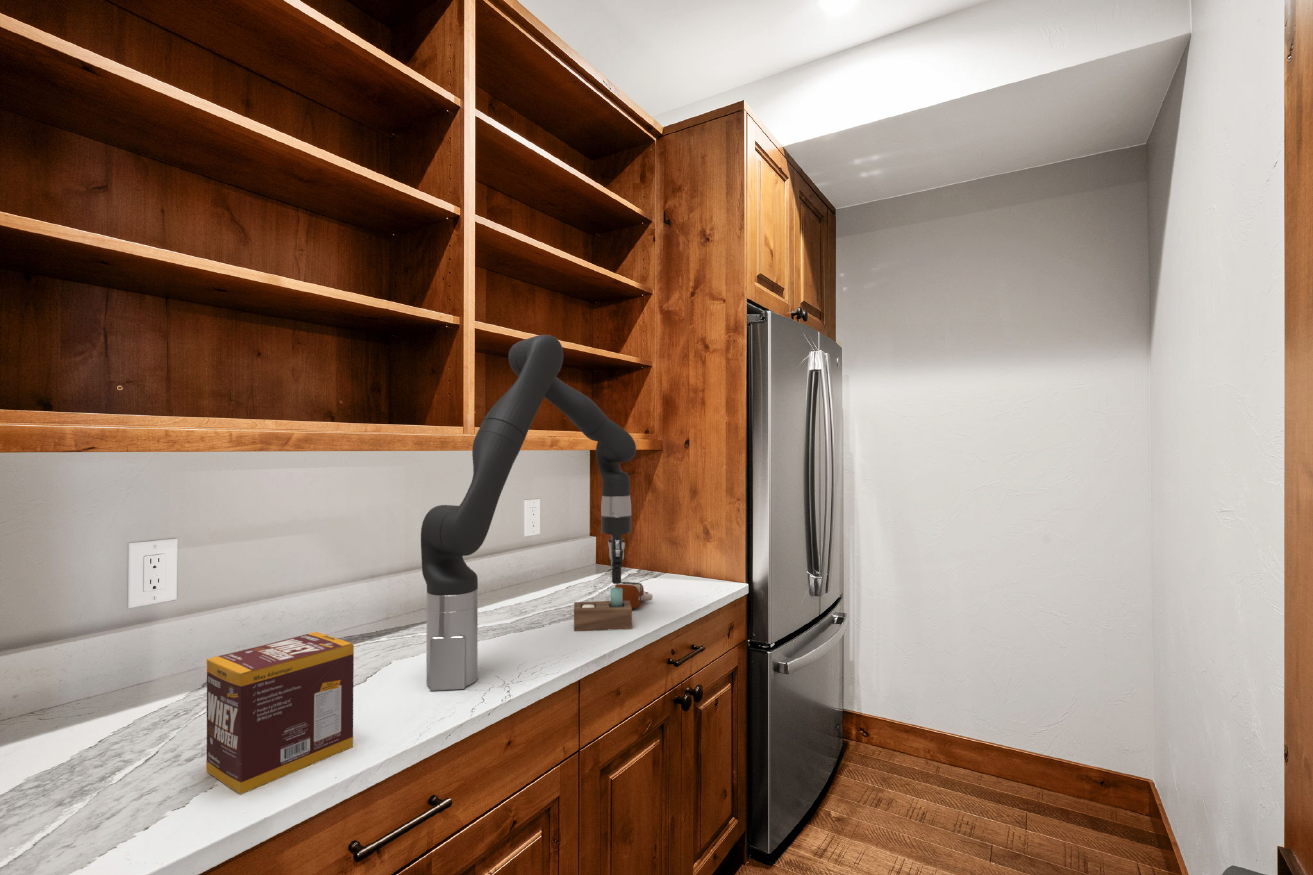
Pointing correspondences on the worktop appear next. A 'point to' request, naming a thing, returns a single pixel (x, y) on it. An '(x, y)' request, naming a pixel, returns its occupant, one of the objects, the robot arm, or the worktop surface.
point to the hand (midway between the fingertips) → (616, 582)
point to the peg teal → (616, 597)
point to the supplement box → (278, 708)
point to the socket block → (602, 616)
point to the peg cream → (588, 606)
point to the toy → (634, 593)
